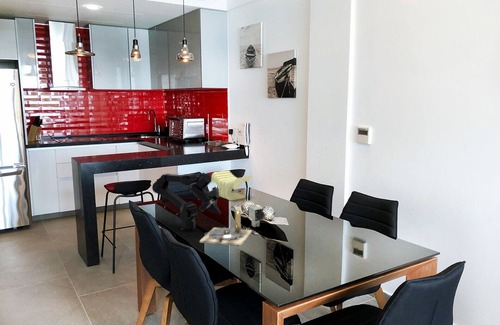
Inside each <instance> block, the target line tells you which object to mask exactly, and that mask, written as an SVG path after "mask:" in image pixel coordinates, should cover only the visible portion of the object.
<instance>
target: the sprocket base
mask: <svg viewBox="0 0 500 325" xmlns="http://www.w3.org/2000/svg"><path fill="white" fill-rule="evenodd" d="M223 228H224V227H212V229H211V230H209V231H208V232H207V233H206V234H205V235H204V236H203V237H202V238H201V239H200V240H199V243H201V244H202V243H203V244H213V245H226V246H237V245H239V246H240V247H242V246H243V245H244V243H245V242H246V240H247V239H248V238H249V236H251V233H252V232H253V231H252V230H251V229H241V232H244V237H239V239H238V240H237V239H232V240H231V241H228V240H222V238H219V239H212V236H209V234H211V233H210V231H215V229H223ZM239 246H238V247H239Z"/></svg>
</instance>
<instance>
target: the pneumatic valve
mask: <svg viewBox="0 0 500 325" xmlns="http://www.w3.org/2000/svg"><path fill="white" fill-rule="evenodd" d="M247 207H248V209H247V214H248V215H247V216H248V218H250V219H252V220H251V227H254V228H256V227H258V228H259V227H260V221H263V218H264V217H265V214H264V209H263V208H262V207H261V206H257V205H249V206H247Z"/></svg>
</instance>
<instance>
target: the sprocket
mask: <svg viewBox="0 0 500 325" xmlns="http://www.w3.org/2000/svg"><path fill="white" fill-rule="evenodd" d="M241 215H242V213H241V210H235V211H234V227H230V228H229V227H222V228H223V229H215V231H211V230H209V231H210V233H211V234H209V236H212V239H219V238H222V240H228V241H231V240H232V239H237V240H238V239H239V237H244V232H241V228H242V227H241V224H242V223H241V222H242V221H241V218H242V217H241Z"/></svg>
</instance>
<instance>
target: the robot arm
mask: <svg viewBox="0 0 500 325" xmlns="http://www.w3.org/2000/svg"><path fill="white" fill-rule="evenodd" d="M170 182H171V183H180V184H182V185H184V186H188V187H187V193H190V192H192V193H193V195H194V196H195V197H196V200H197V201H200V202H201V205H200V206H199V208H198V207H197V204H196V203H194V202H193V201H187V202H186V201H185V200H184V199H182V198H181V197H180V196H179V195H178V194H176V193H175V192H174V191H173V190H171V189H170V186H169V185H170ZM211 183H212V176H210V175H208V174H206V173H205V172H201V173H200V174H199V176H198V175H196V173H188V174H175V173H174V174H173V173H163V174H162V175H161V176H160V177H159V178H157V180H156V181H154V183H153V184H152V186H151V189H152V191H153V192H154V193H155V194H157V195H160V196H164V197H165V198H166V199H167V200H169V201H170V202H171V203H172V204H174V205H175V206H176V207H177V208H179V210H180V213H181V214H179V216H178V217H179V221H180V220H181V229H180V230H181V231H187V232H188V231H189V232H192V231H193V230H195V229H196V220H195V218H197V216H198V213H199V211H200V212H201V213H202V212H204V211H205V210H206V211H208V212H211V213H214V214H215V215H218V216H219V215H221V214H222V213H221V211H220V209H219V207H218V204H217V201H218V198H220V196H219V189H218V187H216V186H214V187H212V188H211V190H208V189H207V190H205V189H206V188H207V187H208V186H209V185H210V184H211Z"/></svg>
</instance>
